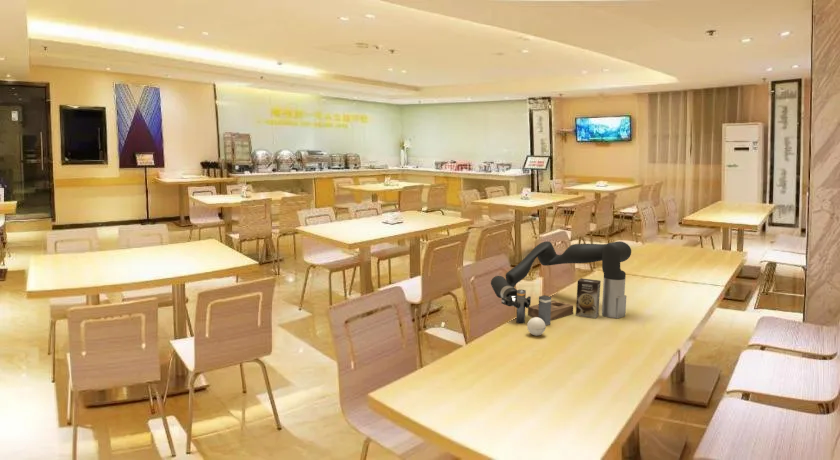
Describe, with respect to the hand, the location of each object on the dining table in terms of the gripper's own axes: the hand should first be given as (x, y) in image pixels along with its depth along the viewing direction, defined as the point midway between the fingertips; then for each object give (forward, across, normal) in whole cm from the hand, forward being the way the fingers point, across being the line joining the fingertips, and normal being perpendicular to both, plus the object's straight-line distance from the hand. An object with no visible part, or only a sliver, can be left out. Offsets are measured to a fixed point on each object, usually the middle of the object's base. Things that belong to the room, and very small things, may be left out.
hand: (523, 305), depth 255 cm
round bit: (-3, 0, -8) cm, 8 cm away
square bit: (+1, -9, -8) cm, 12 cm away
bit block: (-11, -17, -8) cm, 22 cm away
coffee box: (-8, -33, -8) cm, 35 cm away
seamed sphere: (+15, -2, -8) cm, 17 cm away
